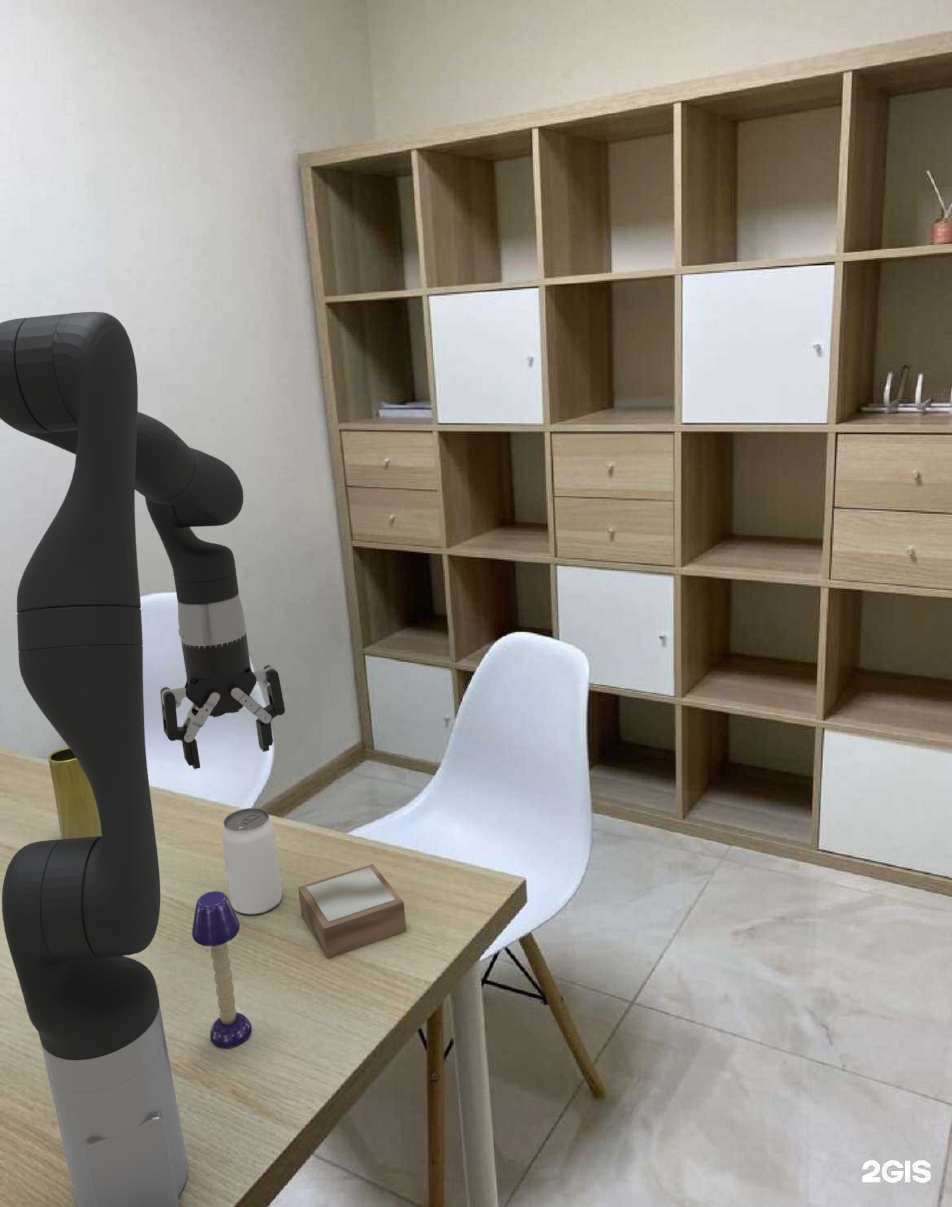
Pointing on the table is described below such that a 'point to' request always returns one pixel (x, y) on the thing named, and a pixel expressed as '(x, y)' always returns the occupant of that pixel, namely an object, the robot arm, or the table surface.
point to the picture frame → (351, 910)
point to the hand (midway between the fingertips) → (230, 757)
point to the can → (251, 861)
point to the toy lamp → (221, 965)
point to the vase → (73, 797)
